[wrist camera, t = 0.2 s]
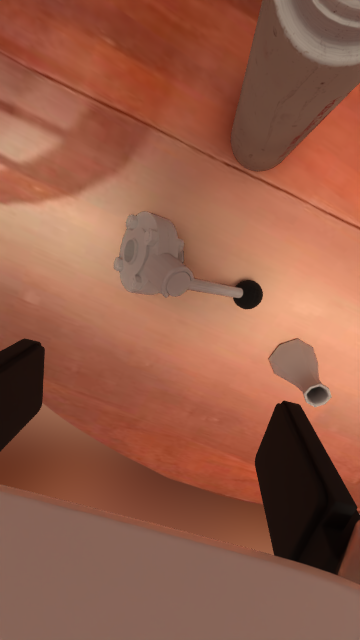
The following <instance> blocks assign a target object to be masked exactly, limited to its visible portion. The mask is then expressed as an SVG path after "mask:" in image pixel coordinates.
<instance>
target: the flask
mask: <svg viewBox="0 0 360 640" xmlns="http://www.w3.org/2000/svg"><path fill="white" fill-rule="evenodd" d="M269 360H270V363H271V366H272V368H273V371H274V373H275V374H276V375H278V376H280V377H282V378H283V379H285V380H287V381H289V382H290V383H292V384H294V385H295V386H297V387H298V388H299V389H300V390H301V391H302V392H303V395H304V398H305V400H306V402H307V403H308V404H310V405H312V406H314V407H317V406H321V405H324V404H326V403H327V402H328V400H329V399H330V398H331V394H330V390H329V388H328V387H326V386H324V385H323V384H322V383H321V382H320V380H319V374H318V362H317V359H316V356H315V353H314V350H313V347H311V346H309V345H308V344H306V343H304V342H303V341H301V340H299V339H295V340H292V341H289V342H286V343H283V344H280V345H279V346H278V347H277V349H276V350H275V351H274V353H273V354H272V355H271V356H270V358H269Z"/></svg>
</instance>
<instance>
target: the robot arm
mask: <svg viewBox="0 0 360 640" xmlns="http://www.w3.org/2000/svg"><path fill="white" fill-rule="evenodd" d="M44 354H45V349H44V347H42V346H41V343H40V342H37V341H33V340H29V339H22V340H20V341H18V342H17V343H15V344H13V345H11V346H9V347H8V348H6V349H4V350H2V351H0V451H1V450H2V449H3V448H4V447H5V446H6V445H7V444H8V443H9V442H10V441H11V440H12V439H13V438H14V437H15V436H16V435H17V434H18V433H19V431H20V430H21V429H22V428H23V427H24V426H25V425H26V424H27V423H28V422H29V421H30V420H31V419H32V418H33V417H34V416H35V415H36V414H37V413H38V412H39V410H40V408H41V406H42V397H43V375H44ZM255 467H256V472H257V477H258V481H259V486H260V491H261V495H262V500H263V505H264V509H265V514H266V519H267V523H268V528H269V533H270V537H271V542H272V547H273V551H274V555H271V554H267V553H263V552H260V551H256V550H253V549H249V548H246V547H242V546H238V545H234V544H230V543H226V542H223V541H219V540H215V539H212V538H208V537H204V536H200V535H196V534H192V533H189V532H185V531H181V530H177V529H173V528H170V527H166V526H162V525H158V524H154V523H151V522H147V521H143V520H139V519H135V518H131V517H127V516H123V515H119V514H115V513H111V512H108V511H104V510H100V509H96V508H92V507H88V506H84V505H80V504H77V503H72V502H69V501H65V500H61V499H57V498H53V497H49V496H45V495H41V494H37V493H33V492H29V491H25V490H21V489H17V488H13V487H9V486H5V485H1V484H0V640H360V515H359V513H358V511H357V510H356V509H357V506H356V504H355V502H354V500H353V499H352V497H351V495H350V493H349V491H348V490H347V488H346V486H345V484H344V482H343V481H342V479H341V477H340V475H339V474H338V472H337V470H336V468H335V466H334V465H333V463H332V461H331V459H330V457H329V456H328V454H327V452H326V450H325V449H324V447H323V445H322V443H321V441H320V440H319V438H318V436H317V434H316V432H315V431H314V429H313V427H312V425H311V424H310V422H309V420H308V418H307V416H306V415H305V413H304V411H303V409H302V407H301V406H300V405H299V404H296V403H291V402H287V401H283V402H282V403H281V404H279V403H278V404H277V405H276V407H275V409H274V412H273V414H272V417H271V419H270V422H269V424H268V427H267V429H266V432H265V434H264V437H263V439H262V442H261V444H260V447H259V449H258V452H257V454H256V458H255Z"/></svg>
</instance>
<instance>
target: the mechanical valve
mask: <svg viewBox="0 0 360 640" xmlns="http://www.w3.org/2000/svg"><path fill="white" fill-rule="evenodd" d="M126 227H127V229H126V232H125V234H124V237H123V240H122V244H121V248H120V255H119V257H117V258H116V259H115V261H114V269H115V270H116V271H119V273H120V278H121V282H122V284H123V286H124V288H125V289H126V290H127V291H129V292H132V293H139V294H146V295H155V294H158V293H161V294H162V295H163V296H164V297H168V296H169V295H170V296H174V297H176V296H180V295H182V294H183V293H184V292H185V291H186V290H193V291H199V292H205V293H211V294H217V295H223V296H229V297H233V299H234V301H235V303H236V304H237V305H238V306H239V307H241V308H243V309H252V308H254V307H256V306H257V305H258V304H259V303H260V302H261V300H262V297H263V292H262V289H261V287H260V285H259V284H258V283H256V282H255V281H251V280H245V281H242V282H240V283H238V284H237V286H236V287H233V286H228V285H223V284H219V283H214V282H209V281H205V280H200V279H195V278H194V277H193V273H192V271H191V270H190V269H189V268H188V267H186V266H185V265H184V264H183V262H184V251H183V248H184V241H183V240H182V239H179V238H178V235H177V231H176V229H175V226H174V225H173V223H172V222H171V221H170V220H168V219H165V218H163V217H160V216H157V215H155V214H152V213H149V212H140V213H139V214H137V215H136V216H135V215H132V214H131V215H129V216H128V218H127V220H126ZM167 293H168V294H169V295H168V294H167Z"/></svg>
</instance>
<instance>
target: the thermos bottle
mask: <svg viewBox="0 0 360 640" xmlns="http://www.w3.org/2000/svg"><path fill="white" fill-rule="evenodd" d="M359 83H360V0H262V5H261V9H260V13H259V17H258V22H257V26H256V30H255V34H254V38H253V43H252V47H251V51H250V55H249V60H248V64H247V68H246V72H245V77H244V81H243V85H242V90H241V94H240V99H239V102H238V106H237V110H236V115H235V119H234V123H233V127H232V132H231V147H232V150H233V153H234V155H235V157H236V159H237V160H238V162H239V163H240V164H241V165H243V166H244V167H245V168H247V169H250V170H253V171H265V170H269V169H271V168H273V167H275V166H276V165H278V164H279V163H281V162H282V161H283V160H284V158H285V157H286V156H287V155H288V154H289V153H290V152H291V151H292V150H293V149H294V148H295V147H296V146H297V145H298V144H299V143H300V142H301V141H302V140H303V139H304V138H305V137H306V136H307V135H308V134H309V133H310V132H311V131H312V130H313V129H314V128H315V127H316V126H317V125H318V124H319V123H320V122H321V121H322V120H323V119H324V118H325V117H326V116H327V115H328V114H329V113H330V112H331V111H332V110H333V109H334V108H335V107H336V106H337V105H338V104H339V103H340V102H341V101H342V100H343V99H344V98H345V97H346V96H347V95H348V94H349V93H350V92H351V91H352V90H353V89H354V88H355V87H356V86H357V85H358V84H359Z"/></svg>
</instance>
